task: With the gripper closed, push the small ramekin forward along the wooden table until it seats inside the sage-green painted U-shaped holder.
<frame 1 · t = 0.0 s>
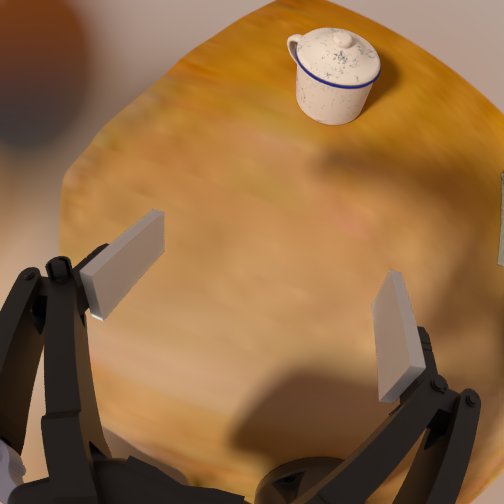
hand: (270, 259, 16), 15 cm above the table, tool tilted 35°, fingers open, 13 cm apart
teacup with lid: (321, 92, 32), on the table
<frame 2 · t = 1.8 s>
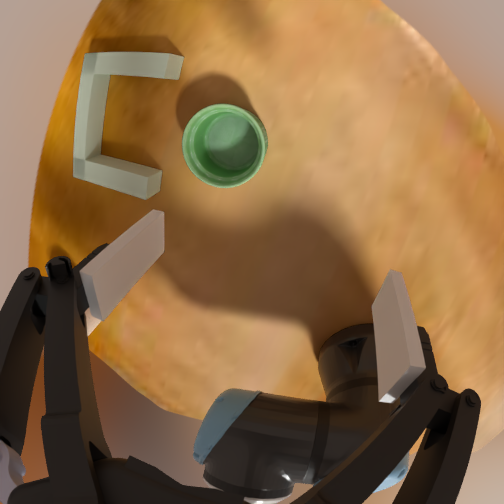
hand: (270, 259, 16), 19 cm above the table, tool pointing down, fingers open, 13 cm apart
teacup with lid: (90, 301, 53), on the table
holder: (128, 118, 33), on the table
ramekin: (234, 140, 32), on the table
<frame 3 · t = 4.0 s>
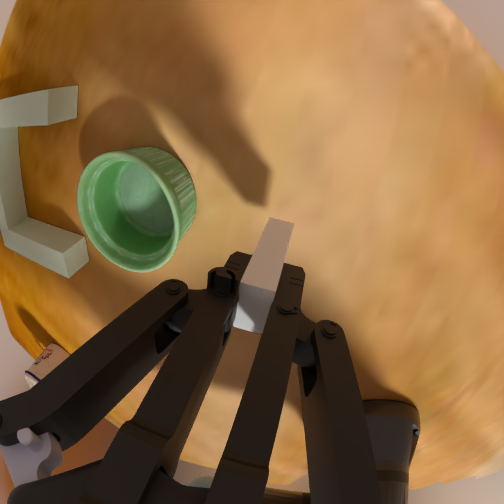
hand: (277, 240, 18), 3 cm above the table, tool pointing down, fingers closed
teacup with lid: (65, 360, 45), on the table
holder: (40, 174, 23), on the table
ramekin: (154, 193, 22), on the table
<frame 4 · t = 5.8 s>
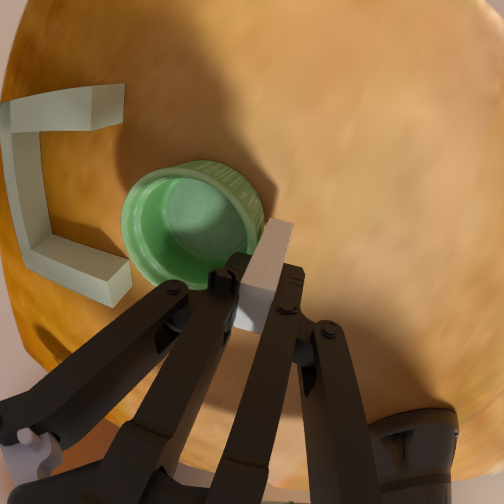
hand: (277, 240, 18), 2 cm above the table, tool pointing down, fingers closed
holder: (70, 186, 22), on the table
ramekin: (209, 213, 20), on the table, touching gripper
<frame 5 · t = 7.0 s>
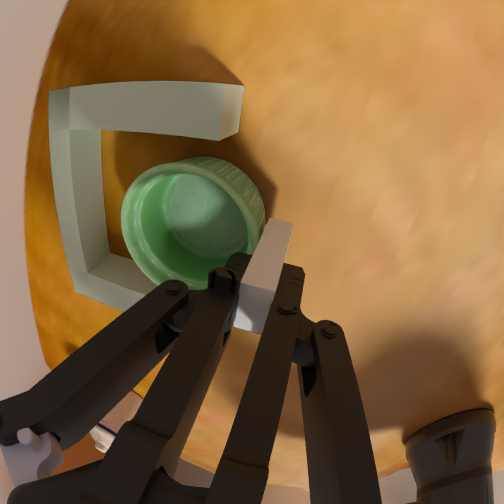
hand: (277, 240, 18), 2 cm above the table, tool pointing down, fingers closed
teacup with lid: (127, 398, 42), on the table
holder: (147, 200, 21), on the table
ramekin: (210, 209, 20), on the table, touching gripper
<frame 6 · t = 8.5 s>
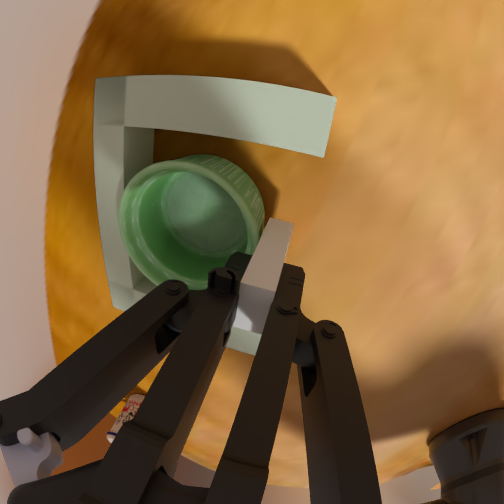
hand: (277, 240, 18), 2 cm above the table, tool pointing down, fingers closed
teacup with lid: (150, 408, 42), on the table
holder: (208, 211, 20), on the table
ramekin: (209, 208, 20), on the table, touching gripper
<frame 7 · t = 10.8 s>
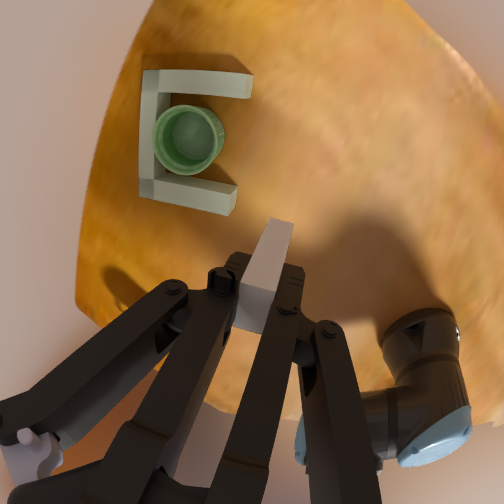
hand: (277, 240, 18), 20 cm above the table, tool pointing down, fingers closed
holder: (197, 136, 36), on the table
ramekin: (197, 134, 36), on the table
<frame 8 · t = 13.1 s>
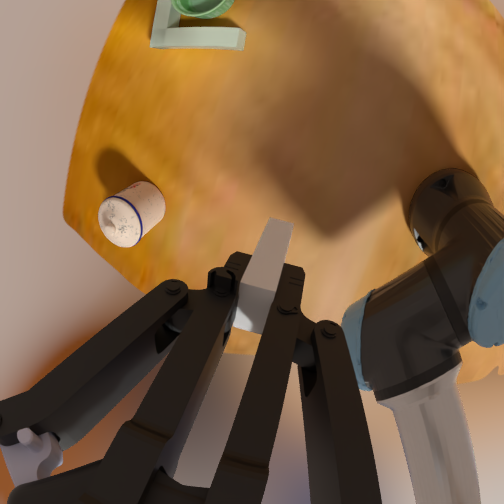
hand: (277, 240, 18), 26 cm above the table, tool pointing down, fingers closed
teacup with lid: (143, 207, 51), on the table
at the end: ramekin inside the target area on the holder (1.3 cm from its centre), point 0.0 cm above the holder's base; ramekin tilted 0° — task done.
